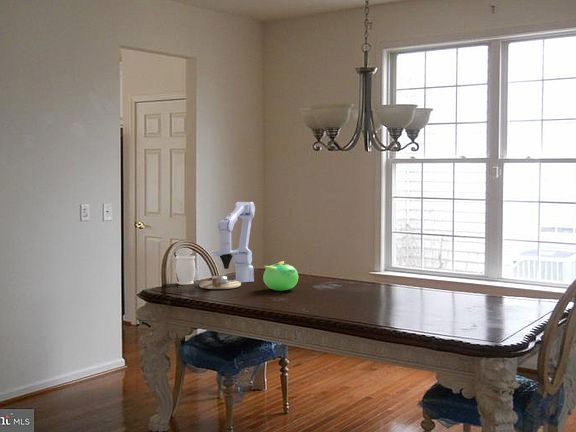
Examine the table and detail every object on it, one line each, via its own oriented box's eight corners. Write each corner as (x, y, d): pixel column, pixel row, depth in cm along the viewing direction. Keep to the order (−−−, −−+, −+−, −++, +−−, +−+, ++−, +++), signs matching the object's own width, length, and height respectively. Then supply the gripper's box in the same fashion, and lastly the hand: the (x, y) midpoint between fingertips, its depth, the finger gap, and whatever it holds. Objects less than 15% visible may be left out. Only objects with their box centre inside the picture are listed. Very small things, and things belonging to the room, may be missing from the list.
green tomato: (299, 287, 375) (299, 260, 374) (296, 293, 359) (296, 264, 358) (265, 287, 377) (265, 259, 376) (261, 293, 361) (260, 264, 359)
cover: (230, 283, 381) (230, 276, 381) (220, 285, 375) (220, 278, 375) (219, 281, 386) (219, 274, 386) (209, 283, 380) (209, 276, 380)
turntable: (249, 284, 383) (249, 274, 383) (221, 290, 366) (221, 280, 365) (218, 280, 396) (218, 271, 396) (190, 286, 379) (190, 276, 378)
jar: (172, 284, 388) (172, 257, 387) (181, 281, 398) (180, 254, 397) (190, 285, 385) (190, 257, 384) (198, 282, 395) (198, 255, 394)
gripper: (233, 241, 385) (233, 266, 386) (210, 243, 376) (210, 269, 377) (240, 242, 380) (241, 267, 381) (217, 244, 371) (217, 270, 372)
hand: (226, 268), depth 379 cm, fingers closed
